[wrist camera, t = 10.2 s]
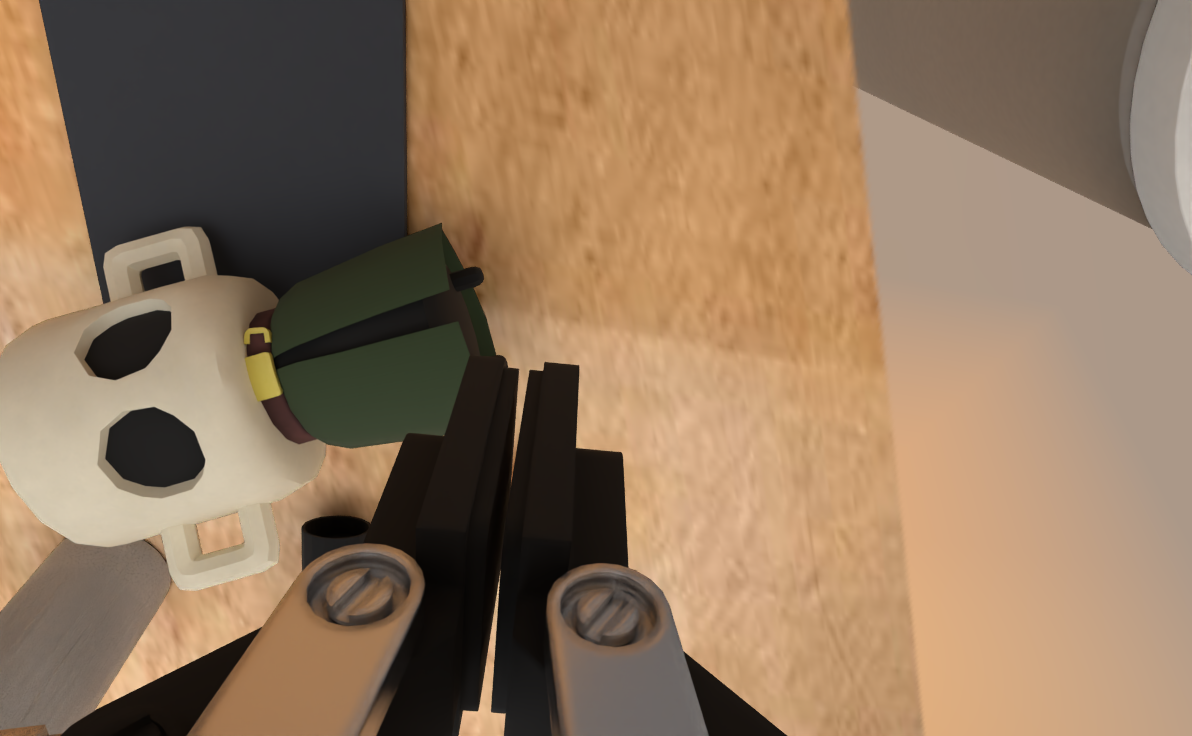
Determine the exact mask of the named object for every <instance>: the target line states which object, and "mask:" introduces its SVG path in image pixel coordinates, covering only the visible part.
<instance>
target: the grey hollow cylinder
mask: <svg viewBox="0 0 1192 736" xmlns="http://www.w3.org/2000/svg"><path fill="white" fill-rule="evenodd" d="M170 584H171V575H170V573H169V568H168V565H167V563H166V562H165V560H164V559H163V557H162V556H161V555H160V553H159V552H158V551H157V550H156V549H154V548H153V547H152V546H151V545H150V544H148V543H147V542H145V541H144V540H139V541H135V542H132V543H128V544H124V545H118V546H113V547H102V546H93V545H85V544H77V543H74V542H73V541H71V540H69V539H68V538H65V539H64V540H63V541H62V542H61V543H60V544H59V545H58V546H57V547H56V548H55V549H54V550H53V551H52V552H51V554H50V555H49V556H48V557H47V558H46V559H45V560H44V562H43V563H42V564H41V565H40V566H39V567H38V569H37V570H36V571H35V572H34V573H33V574H32V576H31V577H30V578H29V579H28V580H27V581H26V583H25V584H24V585H23V586H22V587H21V588H20V590H19V591H18V592H17V593H16V594H15V595H14V596H13V598H12V599H11V600H10V601H9V602H8V603H7V605H6V606H5V607H4V608H3V609H2V610H1V612H0V730H4V729H12V728H20V727H28V726H36V725H44V724H45V725H46V728H47V731H48V733H49V735H53V734H61V733H63V732H65V731H66V730H67V729H68V728H69V727H70V726H71V725H72V724H74V723H75V722H77V721H79V720H80V719H82V718H84V717H85V716H87V715H88V714H90V713H92V712H93V711H95V709H96V708H97V706H98V704H99V703H100V701H101V700H102V698H103V696H104V695H105V693H106V692H107V690H108V688H109V687H110V685H111V684H112V682H113V680H114V679H115V677H116V676H117V674H118V672H119V671H120V669H121V668H122V666H123V664H124V663H125V661H126V660H127V658H128V656H129V655H130V653H131V652H132V650H133V648H134V647H135V645H136V644H137V642H138V640H139V639H140V637H141V636H142V634H143V632H144V631H145V629H146V628H147V626H148V624H149V623H150V621H151V620H152V618H153V616H154V615H155V613H156V612H157V610H158V608H159V607H160V605H161V604H162V602H163V600H164V598H165V596H166V594H167V593H168V591H169V588H170Z"/></svg>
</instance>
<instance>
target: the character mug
mask: <svg viewBox="0 0 1192 736" xmlns="http://www.w3.org/2000/svg"><path fill="white" fill-rule="evenodd" d="M175 260H181V264H182V269H183V273H184V278H185V281H182V282H178V283H174V284H170V285H166V286H163V287H159V288H156V289H152V290H149V291H144V286H143V282H142V278H141V274H142V271H143V270H145V269H147V268H151V267H154V266H158V265H161V264H165V263H168V262H172V261H175ZM103 268H104V272H105V277H106V282H107V286H108V291H109V296H110V300H111V302H108V303H105V304H102V305H99V306H95V307H91V308H88V309H84V310H81V311H77V312H73V313H70V314H66V315H62V316H58V317H55V318H51V319H47V320H45V321H43V322H41V323H39V324H36V325H34V326H32V327H30V328H29V329H28V330H26V331H25V332H24V333H22V334H21V335H20V336H18V337H17V338H16V339H14V340H13V341H11V342H10V343H9V344H7V345H6V346H5V348H4V350H3V353H2V355H1V357H0V463H1V465H2V467H3V469H4V471H5V473H6V475H7V478H8V480H9V482H10V484H11V486H12V488H13V489H14V490H15V492H16V493H17V494H18V495H19V496H20V498H21V499H22V500H23V501H24V502H25V504H26V505H27V506H28V507H29V508H30V510H31V511H32V512H33V513H34V514H35V516H36V517H37V518H38V519H39V520H40V522H42V523H43V524H45V525H46V526H48V527H50V528H51V529H53V530H55V531H56V532H58V533H59V534H61V535H63V536H64V537H66V538H68V539H69V540H71V541H73V542H74V543H77V544H85V545H93V546H102V547H113V546H118V545H124V544H128V543H132V542H135V541H139V540H142V539H146V538H149V537H153V536H156V535H160V534H161V536H162V541H163V545H164V550H165V555H166V559H167V564H168V568H169V573H170V575H171V577H172V579H173V580H174V582H175V584H176V585H177V587H178V588H179V589H181V590H195V591H198V590H201V589H205V588H208V587H212V586H215V585H219V584H222V583H226V582H229V581H233V580H236V579H240V578H243V577H247V576H251V575H254V574H258V573H261V572H264V571H266V570H267V569H269V568H270V567H272V566H273V565H275V564H277V563H278V561H279V551H280V542H279V537H278V533H277V529H276V524H275V520H274V516H273V511H272V507H271V503H273V502H276V501H280V500H282V499H284V498H285V497H287V496H288V495H290V494H291V493H293V492H295V491H296V490H298V489H299V488H301V487H302V486H304V485H305V484H307V483H308V482H310V481H312V480H313V479H315V478H316V477H317V476H318V473H319V471H320V468H321V466H322V463H323V461H324V458H325V456H326V444H328V445H334V446H339V447H345V448H358V447H365V446H373V445H380V444H387V443H394V442H401V441H403V440H404V438H405V436H406V434H408V433H417V434H428V435H439V436H444V435H445V432H446V429H447V426H448V423H449V419H450V416H451V413H452V410H453V407H454V403H455V400H456V397H457V394H458V391H459V387H460V384H461V381H462V378H463V375H464V371H465V368H466V365H467V362H468V359H469V356H470V355H478V356H488V357H498V358H504V357H503V356H501V355H496V353H495V349H494V345H493V341H492V338H491V334H490V330H489V327H488V323H487V319H486V317H485V314H484V312H483V310H482V307H481V305H480V303H479V300H478V298H477V295H476V293H475V291H474V288H473V287H476V286H478V285H480V284H481V283H482V282H483V280H484V276H483V273H482V270H481V269H480V268H479V267H470V268H466V269H464V268H463V266H462V264H461V263H460V261H459V259H458V257H457V255H456V253H455V251H454V249H453V248H452V246H451V244H450V243H449V241H448V239H447V237H446V236H445V234H444V232H443V230H442V223H440V224H438V225H435V226H432V227H430V228H427V229H424V230H422V231H419V232H416V233H414V234H411V235H408V236H406V237H403V238H400V239H398V240H395V241H392V242H390V243H387V244H384V245H382V246H379V247H377V248H375V249H372V250H370V251H368V252H366V253H363V254H361V255H359V256H357V257H354V258H352V259H350V260H348V261H346V262H343V263H341V264H339V265H337V266H334V267H332V268H330V269H328V270H325V271H323V272H321V273H318V274H316V275H314V276H312V277H309V278H307V279H305V280H303V281H300V282H298V283H296V284H295V285H294V286H293V287H292V288H291V289H290V290H289V291H288V292H287V293H286V294H284V295H283V296H282V297H281V298H280V299H279V300H278V298H277V297H276V296H275V294H274V293H273V292H272V291H270V290H269V289H267V288H266V287H265V286H263V285H262V284H260V283H259V282H257V281H256V280H254V279H253V278H244V277H236V276H222V275H217V270H216V266H215V262H214V257H213V253H212V249H211V245H210V242H209V239H208V237H207V236H206V234H205V233H204V231H203V230H202V228H201V227H181V228H177V229H174V230H170V231H166V232H163V233H159V234H156V235H152V236H149V237H145V238H142V239H138V240H135V241H131V242H128V243H124V244H120V245H117V246H115V247H114V248H112V249H111V250H109V251H108V252H106V253H105V257H104V265H103ZM506 368H508V365H507V361H506ZM237 512H238V515H239V519H240V524H241V528H242V532H243V537H244V543H242V544H240V545H236V546H233V547H229V548H226V549H222V550H219V551H215V552H211V553H208V554H203V553H202V549H201V544H200V539H199V535H198V530H197V526H196V524H199V523H202V522H206V521H209V520H213V519H216V518H220V517H223V516H227V515H230V514H234V513H237Z"/></svg>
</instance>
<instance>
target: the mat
mask: <svg viewBox="0 0 1192 736" xmlns="http://www.w3.org/2000/svg"><path fill="white" fill-rule="evenodd" d="M39 3H40V8H41V12H42V17H43V22H44V26H45V31H46V36H47V41H48V45H49V50H50V55H51V59H52V64H53V69H54V74H55V78H56V83H57V88H58V92H59V97H60V102H61V106H62V111H63V116H64V121H65V125H66V130H67V135H68V139H69V144H70V149H71V154H72V158H73V163H74V168H75V172H76V177H77V182H78V186H79V191H80V196H81V201H82V205H83V210H84V215H85V219H86V224H87V229H88V233H89V238H90V243H91V248H92V252H93V257H94V262H95V266H96V271H97V276H98V281H99V285H100V290H101V295H102V299H103V304H105V303H108V302H111V300H110V296H109V291H108V286H107V282H106V277H105V272H104V268H103V265H104V257H105V253H106V252H108V251H109V250H111V249H112V248H114V247H115V246H117V245H120V244H124V243H128V242H131V241H135V240H138V239H142V238H145V237H149V236H152V235H156V234H159V233H163V232H166V231H170V230H174V229H177V228H181V227H201V228H202V230H203V231H204V233H205V234H206V236H207V237H208V239H209V242H210V245H211V249H212V253H213V257H214V262H215V266H216V270H217V275H222V276H236V277H244V278H253V279H254V280H256V281H257V282H259V283H260V284H262V285H263V286H265V287H266V288H267V289H269V290H270V291H272V292H273V293H274V294H275V296H276V297H277V298H278V300H279V299H280V298H281V297H282V296H283V295H284V294H286V293H287V292H288V291H289V290H290V289H291V288H292V287H293V286H294V285H295V284H296V283H298V282H300V281H303V280H305V279H307V278H309V277H312V276H314V275H316V274H318V273H321V272H323V271H325V270H328V269H330V268H332V267H334V266H337V265H339V264H341V263H343V262H346V261H348V260H350V259H352V258H354V257H357V256H359V255H361V254H363V253H366V252H368V251H370V250H372V249H375V248H377V247H379V246H382V245H384V244H387V243H390V242H392V241H395V240H398V239H400V238H403V237H406V236H407V132H406V9H405V0H39ZM141 278H142V282H143V286H144V291H149V290H152V289H156V288H159V287H163V286H166V285H170V284H174V283H178V282H182V281H185V278H184V273H183V269H182V264H181V260H175V261H172V262H168V263H165V264H161V265H158V266H154V267H151V268H147V269H145V270H143V271H142V274H141Z"/></svg>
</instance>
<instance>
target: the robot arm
mask: <svg viewBox="0 0 1192 736" xmlns="http://www.w3.org/2000/svg"><path fill="white" fill-rule="evenodd" d="M518 377H519V369H516V368H506V358H498V357H488V356H478V355H470V356H469V359H468V362H467V365H466V368H465V371H464V375H463V378H462V381H461V384H460V387H459V391H458V394H457V397H456V400H455V403H454V407H453V410H452V413H451V416H450V419H449V423H448V426H447V429H446V432H445V435H444V436H439V435H428V434H417V433H408V434H406V436H405V438H404V440H403V443H402V445H401V448H400V450H399V453H398V456H397V458H396V461H395V463H394V466H393V468H392V471H391V473H390V476H389V478H388V481H387V484H386V486H385V489H384V491H383V494H382V496H381V499H380V501H379V504H378V507H377V509H376V512H375V514H374V517H373V519H372V522H371V524H370V527H369V529H368V532H367V535H366V537H365V540H364V542H363V544H356V545H348V546H344V547H341V548H338V549H335V550H332V551H329V552H327V553H325V554H324V555H322V556H320V557H319V558H317V559H315V560H314V561H312V562H311V563H310V564H309V565H308V566H307V567H306V568H305V569H304V570H303V571H302V572H301V573H300V574H299V576H298V577H297V578H296V580H295V581H294V583H293V584H292V586H291V587H290V588H289V590H288V591H287V593H286V594H285V596H284V597H283V598H282V600H281V601H280V603H279V604H278V606H277V607H276V608H275V610H274V611H273V613H272V614H271V616H270V617H269V618H268V620H267V621H266V623H265V624H264V626H263V627H261V628H259V629H257V630H255V631H253V632H251V633H249V634H247V635H245V636H243V637H241V638H239V639H237V640H235V641H233V642H231V643H229V644H227V645H225V646H223V647H221V648H219V649H217V650H215V651H213V652H211V653H209V654H207V655H205V656H203V657H201V658H199V659H197V660H195V661H193V662H191V663H189V664H187V665H185V666H183V667H181V668H179V669H177V670H175V671H173V672H171V673H169V674H167V675H165V676H163V677H161V678H159V679H157V680H155V681H153V682H151V683H149V684H147V685H145V686H143V687H141V688H139V689H137V690H135V691H133V692H131V693H129V694H127V695H125V696H123V697H121V698H119V699H117V700H115V701H113V702H111V703H109V704H107V705H105V706H103V707H101V708H99V709H97V710H95V711H93V712H92V713H90V714H88V715H87V716H85V717H84V718H82V719H80V720H79V721H77V722H75V723H74V724H72V725H71V726H70V727H69V728H68V729H67V730H66V731H65V732H63V733H61V734H53V735H49V733H48V731H47V728H46V725H45V724H44V725H36V726H28V727H20V728H12V729H4V730H0V736H458V735H459V729H460V724H461V718H462V712H463V710H466V711H478V709H479V704H480V698H481V691H482V685H483V678H484V672H485V666H486V659H487V653H488V646H489V640H490V634H491V627H492V621H493V614H494V608H495V602H496V595H497V589H498V582H499V576H500V587H499V602H498V616H497V631H496V646H495V661H494V675H493V690H492V705H491V712H493V713H506V718H505V730H504V736H787V735H786V734H784V733H783V732H782V731H781V730H779V729H778V728H777V727H776V726H775V725H773V724H772V723H771V722H770V721H768V720H767V719H766V718H765V717H763V716H762V715H761V714H760V713H759V712H757V711H756V710H755V709H754V708H752V707H751V706H750V705H749V704H748V703H746V702H745V701H744V700H743V699H741V698H740V697H739V696H738V695H736V694H735V693H734V692H733V691H732V690H730V689H729V688H728V687H727V686H725V685H724V684H723V683H722V682H721V681H719V680H718V679H717V678H716V677H714V676H713V675H712V674H711V673H709V672H708V671H707V670H706V669H705V668H703V667H702V666H701V665H700V664H698V663H697V662H696V661H695V660H693V659H692V658H691V657H690V656H689V655H687V654H686V653H685V652H684V651H683V649H682V645H681V642H680V639H679V635H678V632H677V629H676V625H675V622H674V619H673V615H672V612H671V609H670V605H669V603H668V602H667V600H666V598H665V596H664V594H663V592H662V591H661V590H660V588H659V587H658V586H657V585H656V584H655V583H654V582H653V581H652V580H651V579H649V578H647V577H646V576H644V575H642V574H641V573H639V572H637V571H636V570H633V569H630V568H628V549H627V529H626V508H625V488H624V467H623V454H622V453H621V452H612V451H601V450H590V449H579V448H576V433H577V410H578V387H579V365H570V364H559V363H549V362H545V363H544V370H543V371H536V370H530V371H529V377H528V384H527V390H526V396H525V402H524V408H523V415H522V421H521V427H520V433H519V440H518V446H517V452H516V458H515V464H514V471H513V477H512V483H511V475H512V461H513V447H514V433H515V419H516V405H517V391H518ZM500 570H501V572H500Z"/></svg>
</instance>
